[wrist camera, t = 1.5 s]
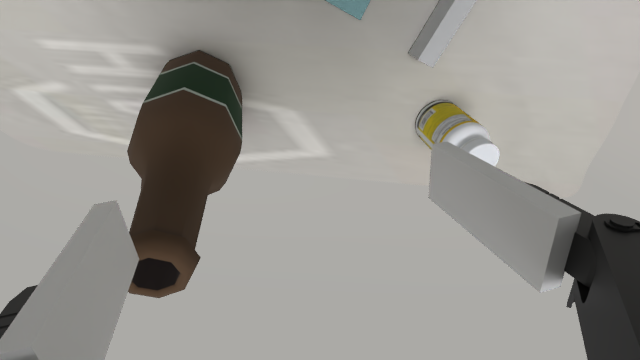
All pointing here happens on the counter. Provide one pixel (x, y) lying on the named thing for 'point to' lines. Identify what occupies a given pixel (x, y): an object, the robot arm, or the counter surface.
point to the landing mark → (351, 6)
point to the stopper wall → (440, 30)
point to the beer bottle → (181, 165)
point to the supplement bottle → (455, 130)
